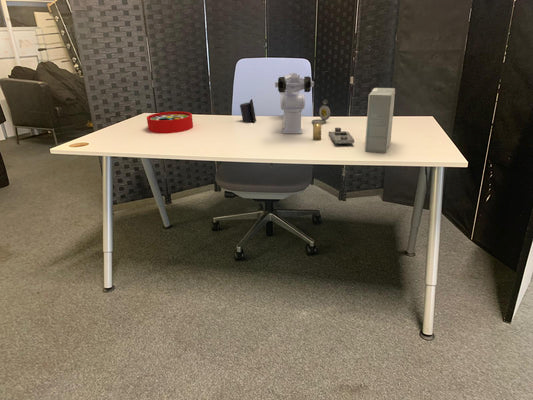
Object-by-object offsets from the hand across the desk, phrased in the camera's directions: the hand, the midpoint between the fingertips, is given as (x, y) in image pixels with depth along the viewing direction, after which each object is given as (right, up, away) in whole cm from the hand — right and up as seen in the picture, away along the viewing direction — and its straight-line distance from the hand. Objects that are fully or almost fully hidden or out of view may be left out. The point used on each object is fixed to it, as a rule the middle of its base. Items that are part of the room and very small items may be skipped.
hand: (295, 85), depth 141 cm
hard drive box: (+30, -22, +3) cm, 37 cm away
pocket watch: (+15, -6, +41) cm, 44 cm away
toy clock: (-54, -9, +38) cm, 67 cm away
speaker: (-19, -4, +47) cm, 51 cm away
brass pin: (+10, -17, +14) cm, 24 cm away
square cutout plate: (+18, -18, +12) cm, 28 cm away
